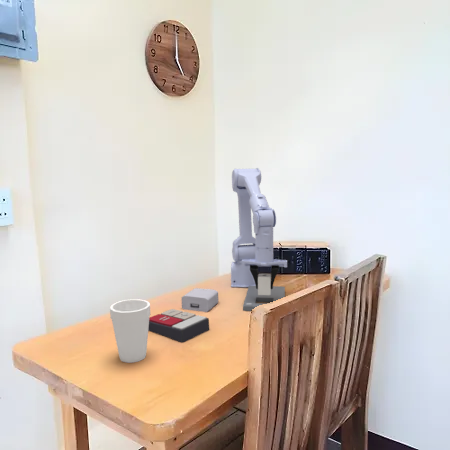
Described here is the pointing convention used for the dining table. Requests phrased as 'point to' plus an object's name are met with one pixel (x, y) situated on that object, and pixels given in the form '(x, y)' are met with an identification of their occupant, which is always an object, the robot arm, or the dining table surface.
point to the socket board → (261, 297)
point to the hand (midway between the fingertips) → (264, 288)
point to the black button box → (178, 325)
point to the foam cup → (131, 328)
